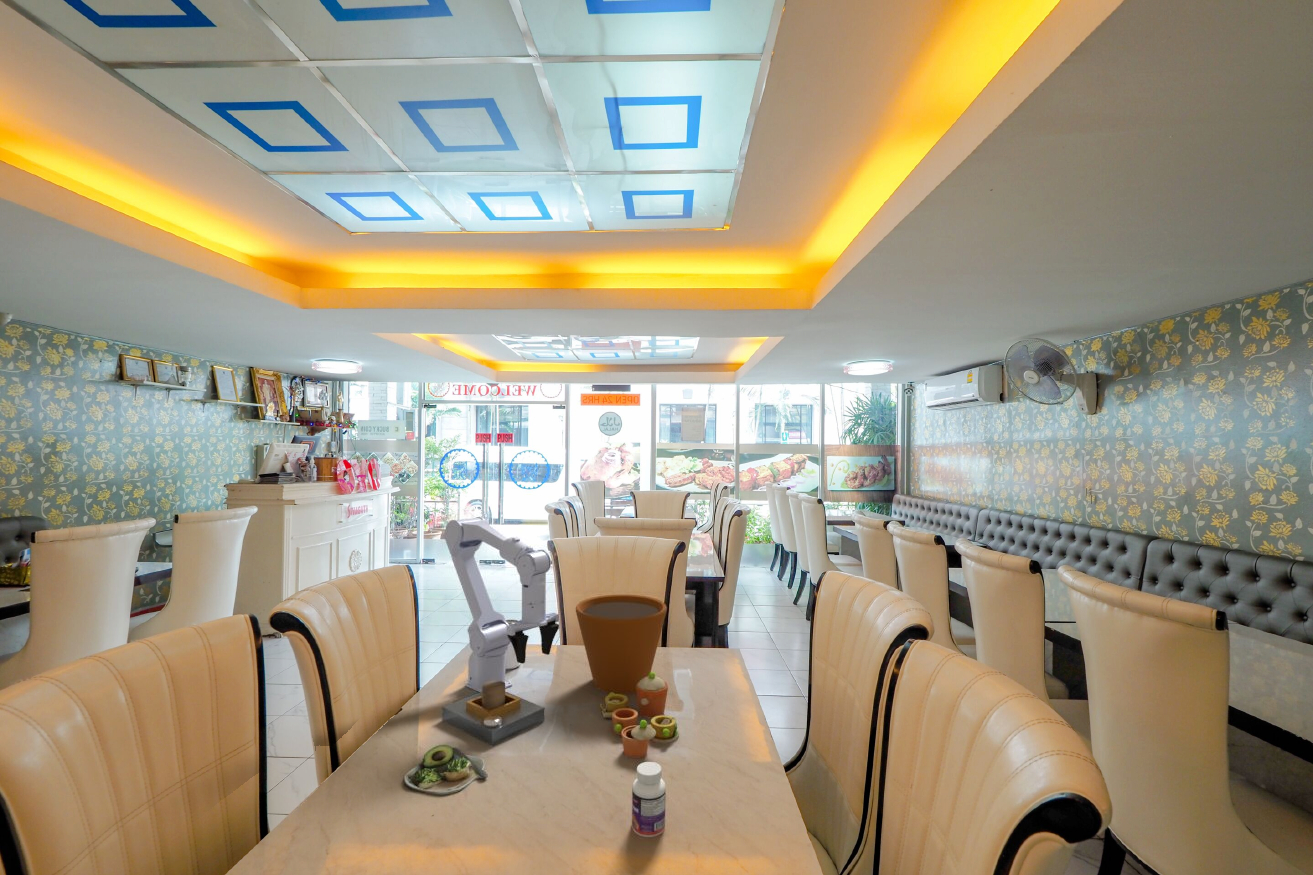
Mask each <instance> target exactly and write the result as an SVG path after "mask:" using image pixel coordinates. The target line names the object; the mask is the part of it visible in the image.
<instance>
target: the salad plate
mask: <svg viewBox="0 0 1313 875" xmlns="http://www.w3.org/2000/svg"><path fill="white" fill-rule="evenodd" d="M485 767H486V766H485V761H484V759H483V758H481V757H478V756H474V755H468V754H466V753H465V754H464V753H463V752H462V750H460V749H459V748H457V747H452V746H450V745H448V744H439V745H436V746H434V747H432V748H430V749H429V750H427V752H425V754H424V755H423V758H422V762H421V763H419V764H418V765H416V766H415V767H413V768H412V769H410V770H409V771H407V772H406V774H405V775H404V777H403V783H404V786H405V787H406V788H407V789H409V790H410V791H413V792H421V793H425V794H428V795H439V796H442V795H445V796H446V795H450V794H451V795H452V794H454V793H458V792H460V791H462V790H465V788H467V787H469V785H471V784H472V783H473V782H475V781H476V780H478V779H485V778H488V777H489V774H488V773H487V772H486V771H484V770H485ZM441 774H443V775H441ZM460 780H464V781H463V782H461V783H460V784H459V785H458V786H456V787H454V788H449V789H444V790H443V789H442V790H428V788H430V787H434V786H436V785H438V784H440V783H441V781H442V782H443V781H448V782H456V781H460Z"/></svg>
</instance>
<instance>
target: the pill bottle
mask: <svg viewBox="0 0 1313 875" xmlns="http://www.w3.org/2000/svg"><path fill="white" fill-rule="evenodd" d="M662 775H663V774H662V766H661V765H660V764H658V763H657V762H654V761H653V762H652V761H644V762H641V763H640V764H638V765H637V767H636V779H634V781H633V783H632V791H631V794H632V795H631V797H632V798H631V828H632V831H633V832H634V833H635V834H637V835H638V836H640V837H645V838H651V837H657V836H660V835H661V834H662V833H663V832H664V831H665V829H666V783H665V780H663V778H662Z"/></svg>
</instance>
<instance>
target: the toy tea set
mask: <svg viewBox="0 0 1313 875" xmlns="http://www.w3.org/2000/svg"><path fill="white" fill-rule="evenodd" d="M668 686H669V685H668V683H667V682H666V681H664V680H663V679H661V678H660V677H658V676H657V675H656V673H655V672H654V671H651V672H650V673H649V676H647V677H645V678H643V679H642V680H640V681H639V682H638V683H637V685H636V691H637V692H636V698H637V706H638V711H636V710H635V709H633V708H630V706H629V705H628V702H629V698H628V696H627V695H626V694H615V693H613V692H611V693H609V694H608V695H606V696H605V698H604V703H605V706H604V705H603V704H602V703H599V706H600V708H601V709H602V710H601V714H602V715H603V718H608V719H611V720H612V726H613V732H614V733H615V734H616V735H620V736H621V740H622V747H623V748H622V749H623V754H624V755H625V756H626V757H629V758H633V759H637V758H643V757H645V756H646V755H647V754H648V749H649V743H650V740H651V741H653V742H656V743H662V744H667V743H673V742H675V741H677V739H679V738H680V732H679V730H678V724H677V720H676V718H675V717H674V716H669V715H664V713H665V708H666V703H667V695H668V690H669V687H668ZM639 714H640V715H641V716H642V717H645V718H651V720H650V724H648V722H647V721H646V720H645V719H642V720H640V722H639V725H637V722H638V717H639V716H638V715H639Z"/></svg>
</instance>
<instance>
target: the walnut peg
mask: <svg viewBox="0 0 1313 875" xmlns="http://www.w3.org/2000/svg"><path fill="white" fill-rule="evenodd" d="M505 691H506V688H505V683H504V682H502V681H490V682H487V683H484V684H483V685H482V707H483V708H486V709H488V710H493V709H495V708H497V707H500V706H502V705H505Z"/></svg>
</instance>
